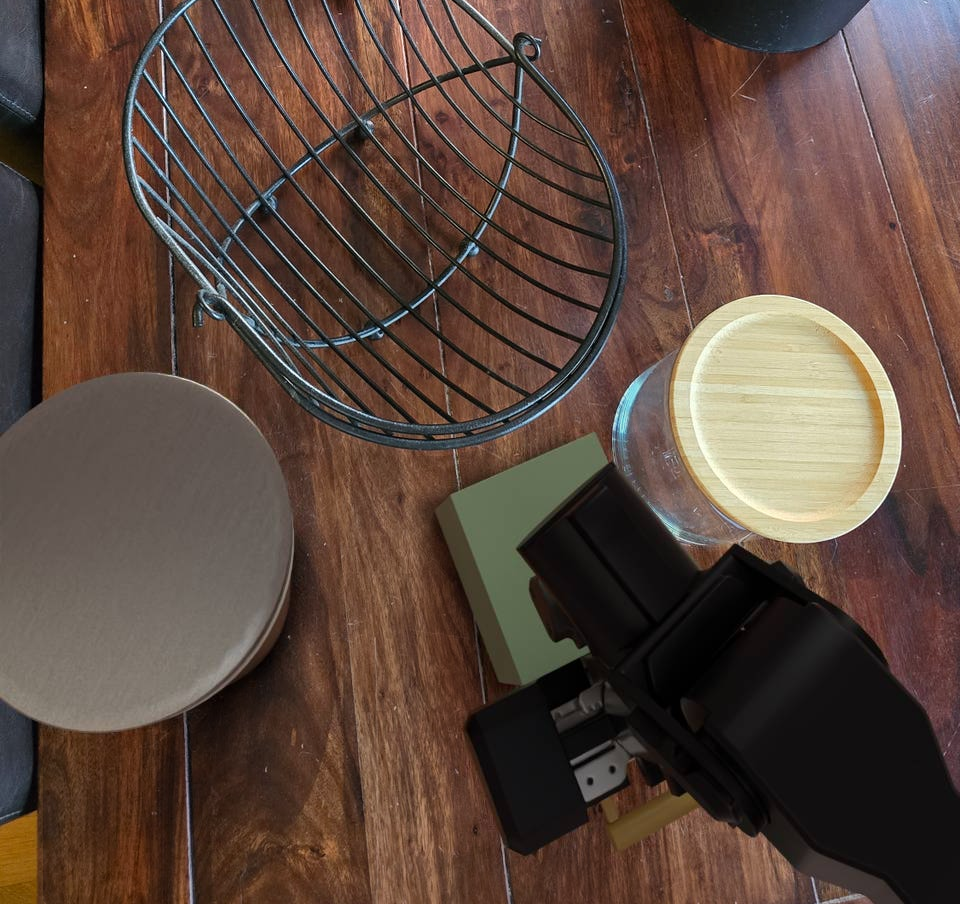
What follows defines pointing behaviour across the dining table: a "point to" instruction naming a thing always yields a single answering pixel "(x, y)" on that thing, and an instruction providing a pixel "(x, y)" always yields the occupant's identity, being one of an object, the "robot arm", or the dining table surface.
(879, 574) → the dining table surface
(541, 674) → the cabinet
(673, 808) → the drawer
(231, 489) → the round grey canister
